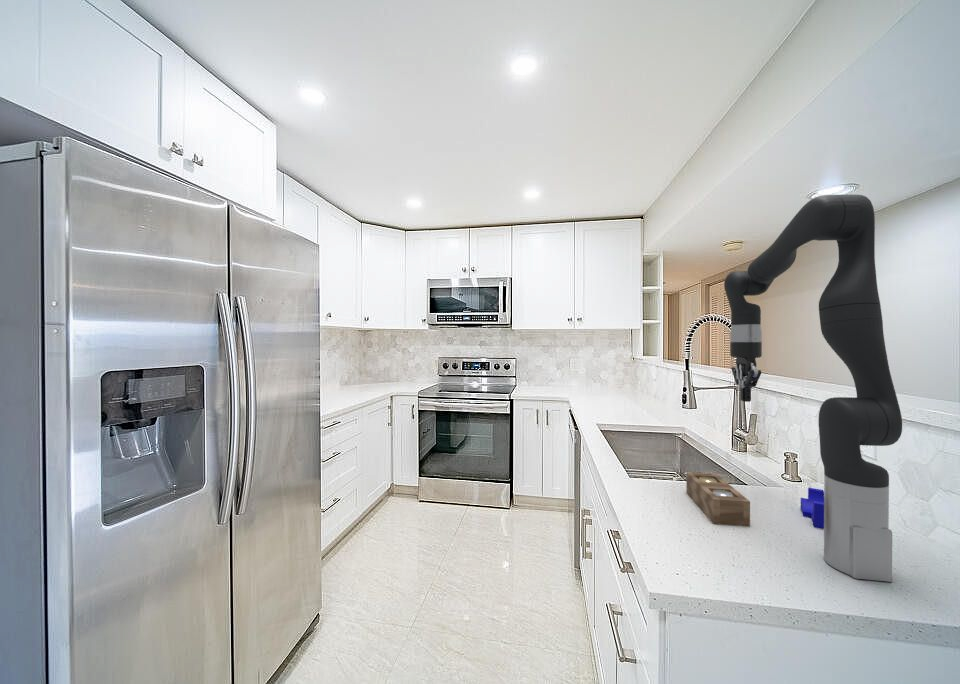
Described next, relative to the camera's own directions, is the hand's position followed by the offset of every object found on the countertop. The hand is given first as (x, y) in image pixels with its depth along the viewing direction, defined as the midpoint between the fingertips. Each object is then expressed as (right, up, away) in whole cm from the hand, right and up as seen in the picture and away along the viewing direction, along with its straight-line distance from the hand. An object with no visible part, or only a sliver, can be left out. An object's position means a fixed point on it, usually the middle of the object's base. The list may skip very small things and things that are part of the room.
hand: (745, 401), depth 114 cm
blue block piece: (+7, -28, -15) cm, 32 cm away
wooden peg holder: (-14, -27, -9) cm, 32 cm away
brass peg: (-13, -27, -4) cm, 30 cm away
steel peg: (-15, -27, -13) cm, 34 cm away
